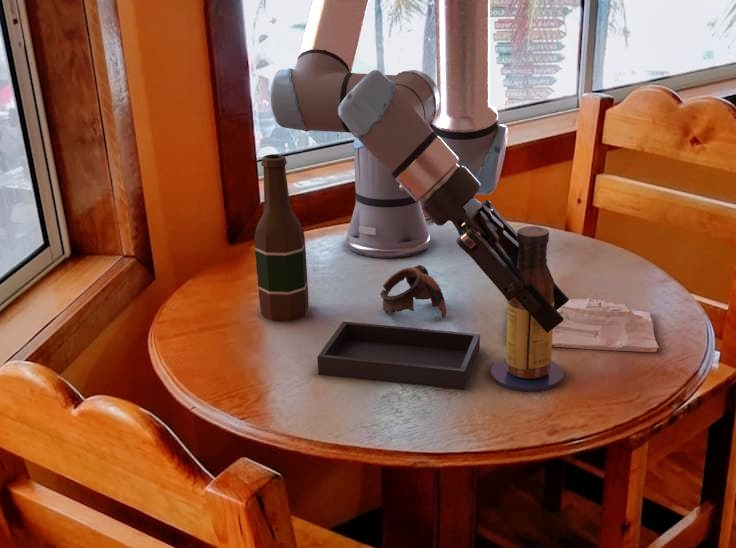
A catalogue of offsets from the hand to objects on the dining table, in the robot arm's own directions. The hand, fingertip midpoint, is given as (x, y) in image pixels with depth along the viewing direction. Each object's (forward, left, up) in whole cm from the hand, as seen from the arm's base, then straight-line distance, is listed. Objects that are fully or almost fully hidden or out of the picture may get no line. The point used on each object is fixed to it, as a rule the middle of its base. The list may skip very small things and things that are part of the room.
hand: (558, 315), depth 130 cm
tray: (0, -22, -9) cm, 24 cm away
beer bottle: (-14, -44, -9) cm, 47 cm away
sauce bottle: (0, -4, -9) cm, 10 cm away
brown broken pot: (-19, -24, -9) cm, 31 cm away
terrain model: (-18, +2, -9) cm, 20 cm away
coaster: (0, -4, -9) cm, 10 cm away
